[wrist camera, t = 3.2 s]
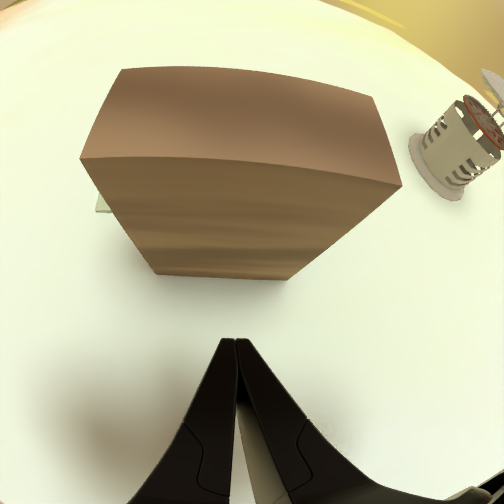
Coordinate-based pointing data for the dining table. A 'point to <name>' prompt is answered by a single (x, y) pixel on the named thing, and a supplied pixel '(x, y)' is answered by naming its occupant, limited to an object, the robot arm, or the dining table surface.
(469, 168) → the french press
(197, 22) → the dining table surface
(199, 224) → the slab
